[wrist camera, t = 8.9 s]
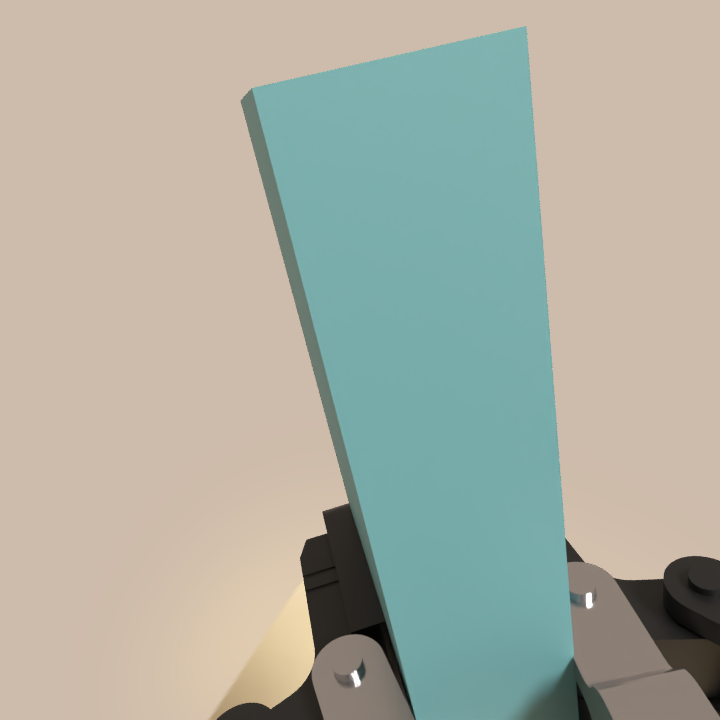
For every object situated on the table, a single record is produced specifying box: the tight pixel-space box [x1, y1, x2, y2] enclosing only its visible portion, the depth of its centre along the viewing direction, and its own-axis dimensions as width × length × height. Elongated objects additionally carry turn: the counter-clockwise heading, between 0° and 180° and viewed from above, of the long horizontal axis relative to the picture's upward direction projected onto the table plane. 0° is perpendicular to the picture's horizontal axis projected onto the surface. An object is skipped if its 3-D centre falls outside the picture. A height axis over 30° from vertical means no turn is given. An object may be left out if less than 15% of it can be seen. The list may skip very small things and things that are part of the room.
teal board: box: [241, 26, 579, 720], centre depth 12 cm, size 2×5×22 cm, turn 12°
